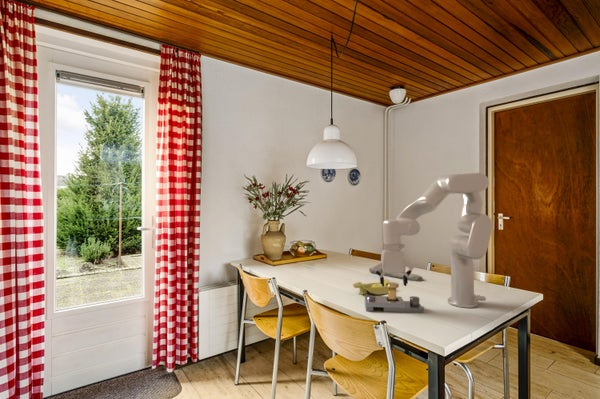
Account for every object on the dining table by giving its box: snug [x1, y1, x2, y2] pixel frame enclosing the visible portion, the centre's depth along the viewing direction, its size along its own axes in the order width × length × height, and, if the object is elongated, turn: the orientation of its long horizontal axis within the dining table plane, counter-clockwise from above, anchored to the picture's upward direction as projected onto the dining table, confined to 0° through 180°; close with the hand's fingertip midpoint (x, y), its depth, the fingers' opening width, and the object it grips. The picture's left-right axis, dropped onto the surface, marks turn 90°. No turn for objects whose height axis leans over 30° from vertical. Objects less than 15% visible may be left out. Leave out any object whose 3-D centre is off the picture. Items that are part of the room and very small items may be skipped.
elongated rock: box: [368, 267, 424, 282], centre depth 201 cm, size 35×5×10 cm
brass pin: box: [386, 281, 400, 301], centre depth 144 cm, size 6×6×11 cm
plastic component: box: [352, 279, 390, 296], centre depth 168 cm, size 20×7×10 cm
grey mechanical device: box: [364, 295, 424, 314], centre depth 144 cm, size 24×9×5 cm, turn 83°
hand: (393, 285), depth 144 cm, fingers open, 9 cm apart
